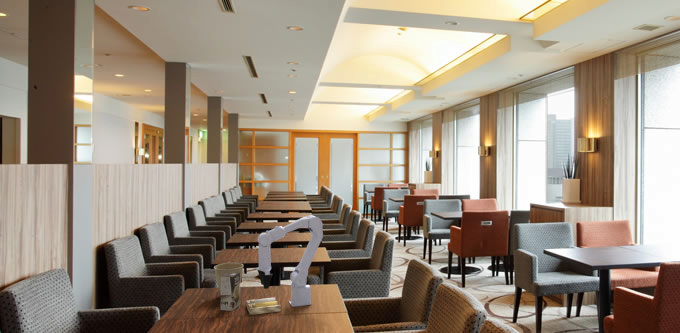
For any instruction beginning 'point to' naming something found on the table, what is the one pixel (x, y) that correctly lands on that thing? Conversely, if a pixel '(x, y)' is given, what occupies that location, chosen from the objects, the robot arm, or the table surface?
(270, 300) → the tall white tube
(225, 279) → the coffee box
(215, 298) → the table surface
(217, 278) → the plant pot
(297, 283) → the robot arm
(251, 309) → the rack
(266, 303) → the pale yellow cylinder
